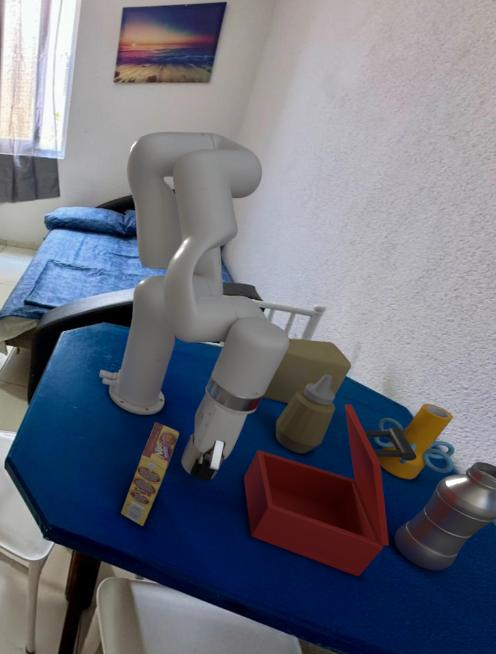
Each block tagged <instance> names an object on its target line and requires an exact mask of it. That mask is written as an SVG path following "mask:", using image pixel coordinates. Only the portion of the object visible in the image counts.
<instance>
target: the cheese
mask: <svg viewBox="0 0 496 654" xmlns="http://www.w3.org/2000/svg"><path fill="white" fill-rule="evenodd" d="M351 368H352V364H351V361H350V360H349V359H348V358H347V356H345V354H344V353H343V352H342V351H341V349H340V348H339V347H338V346H337V345H336V344H334V343H333V342H331V341H324V340H323V341H321V340H312V339H301V338H289V347H288V349H287V352H286V353H285V355H284V357H283V359H282V361H281V363H280V365H279V367H278V369H277V371H276V372H275V374H274V376H273V378H272V380H271V382H270V384H269V386H268V388H267V390H266V391H265V393H264V395H263V397H262V398H264V399H270V400H273V401H277V402H281V403H284V404H287V405H288V404H289V402H290V401H291V399H292V398H293V397H294V395H295V394H296V392H298V391H301V390H305V388H306V386H307V385H308V384H316V383H317V382H318V381H319V380H320V379H321V378H322V377H323V376H324V375H326V374H328V375H331V376H332V377H333V378H332V383H331V388H330V390H331V391H332V392H333V393H334V395H335V396H336V394H337V392H338V390H339V389H340V387H341V385H342V383H343V382H344V380H345V378H346V377H347V375H348V373H349V371H350V370H351Z"/></svg>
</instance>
